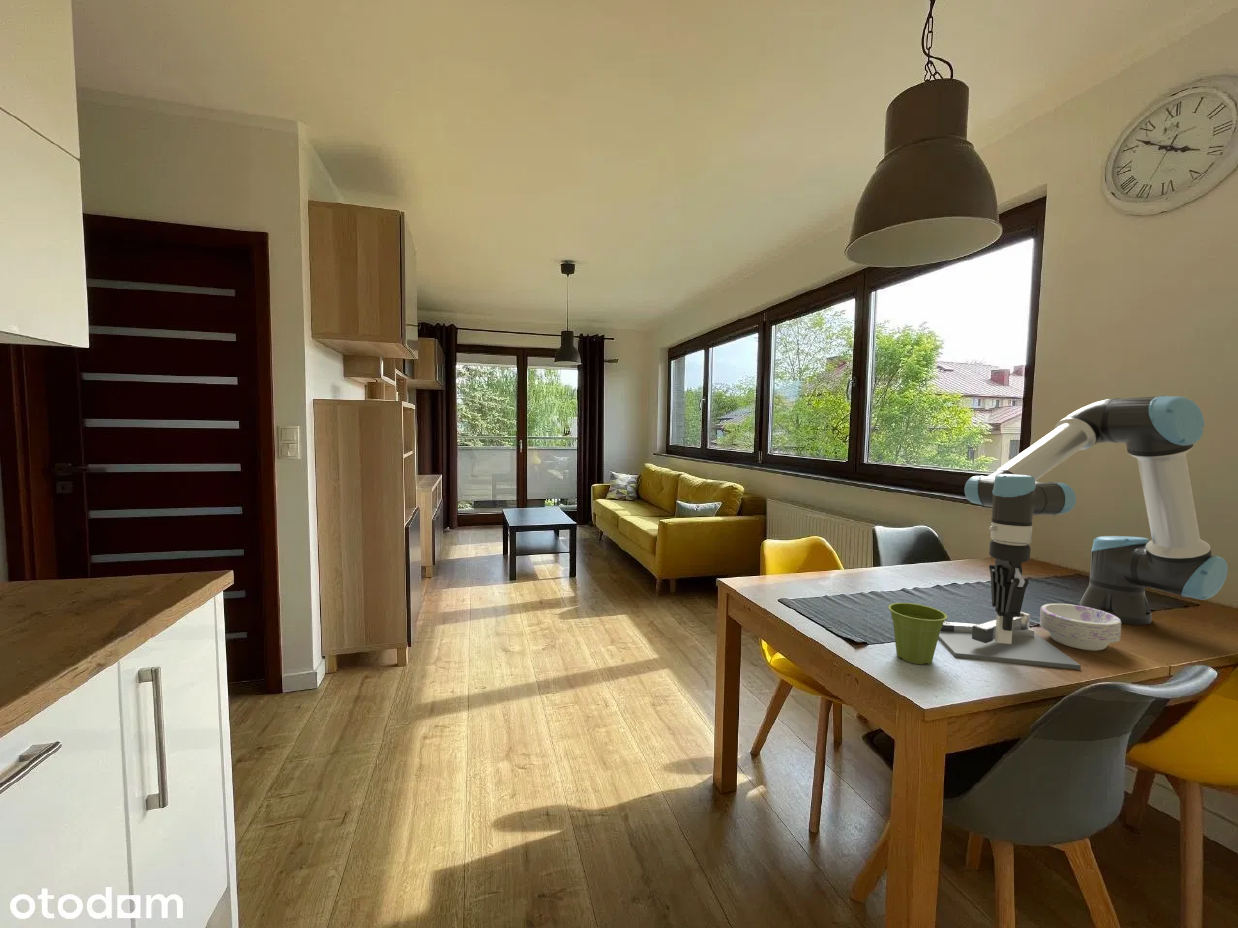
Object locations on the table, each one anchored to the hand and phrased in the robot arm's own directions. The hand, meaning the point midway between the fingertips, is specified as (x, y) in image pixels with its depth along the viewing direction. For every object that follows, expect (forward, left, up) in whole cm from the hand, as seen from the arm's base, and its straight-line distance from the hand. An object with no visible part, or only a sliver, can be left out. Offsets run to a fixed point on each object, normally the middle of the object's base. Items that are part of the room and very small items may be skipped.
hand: (1003, 641), depth 122 cm
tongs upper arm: (-4, -10, -1) cm, 10 cm away
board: (-2, -8, -4) cm, 9 cm away
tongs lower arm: (-2, -14, -3) cm, 15 cm away
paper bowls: (-23, -15, -4) cm, 28 cm away
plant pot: (+20, +5, -4) cm, 21 cm away
